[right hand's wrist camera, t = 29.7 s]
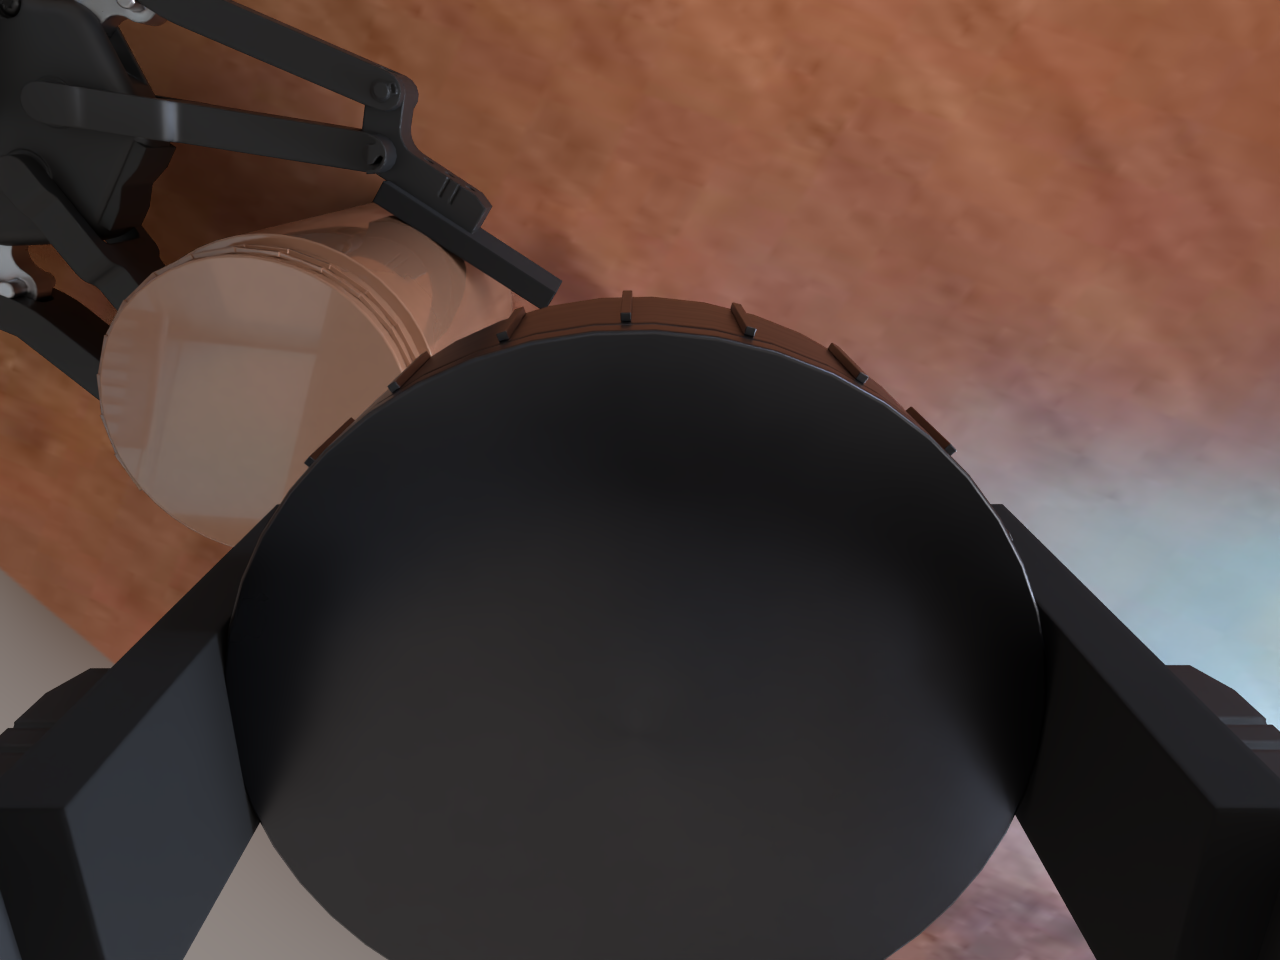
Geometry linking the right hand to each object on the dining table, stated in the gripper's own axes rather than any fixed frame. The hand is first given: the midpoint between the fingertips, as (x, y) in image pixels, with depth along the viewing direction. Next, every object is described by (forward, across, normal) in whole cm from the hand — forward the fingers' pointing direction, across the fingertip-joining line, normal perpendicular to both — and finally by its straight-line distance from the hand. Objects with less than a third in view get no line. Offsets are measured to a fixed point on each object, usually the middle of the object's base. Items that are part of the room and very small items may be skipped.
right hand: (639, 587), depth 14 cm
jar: (+26, +9, 0) cm, 27 cm away
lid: (-3, 0, 0) cm, 3 cm away
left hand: (+20, +6, +2) cm, 21 cm away
